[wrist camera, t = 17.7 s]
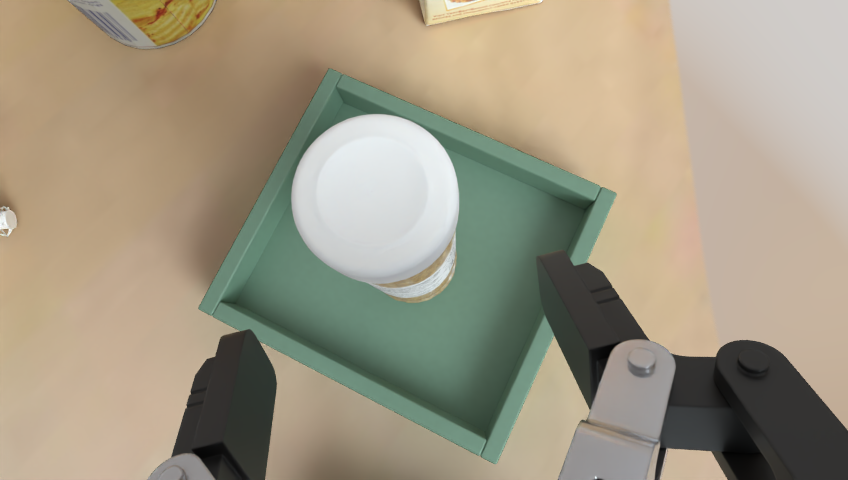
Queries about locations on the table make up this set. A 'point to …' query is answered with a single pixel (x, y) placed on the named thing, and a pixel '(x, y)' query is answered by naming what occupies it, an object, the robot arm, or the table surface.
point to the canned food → (146, 19)
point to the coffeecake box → (465, 8)
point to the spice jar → (380, 205)
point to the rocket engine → (7, 220)
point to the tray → (429, 320)
